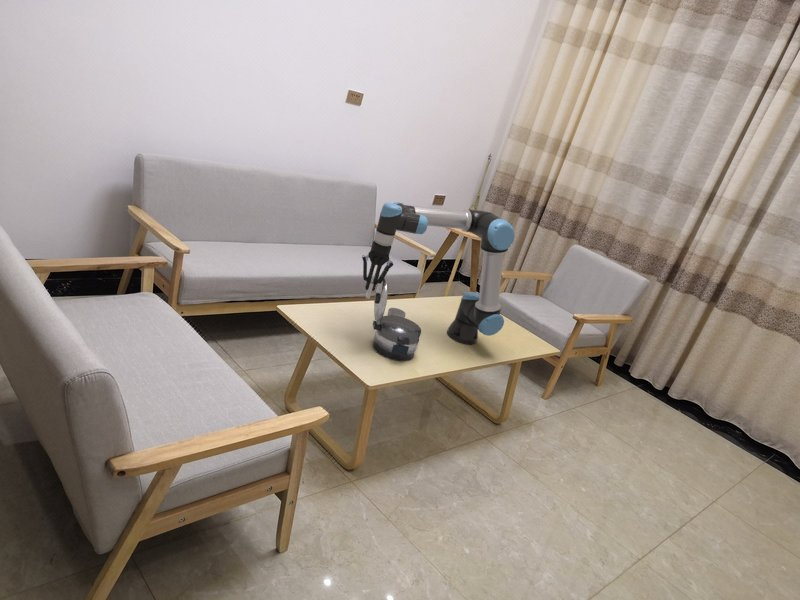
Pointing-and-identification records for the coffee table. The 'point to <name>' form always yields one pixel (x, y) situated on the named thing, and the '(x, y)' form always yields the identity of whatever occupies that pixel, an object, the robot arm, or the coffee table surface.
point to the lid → (380, 300)
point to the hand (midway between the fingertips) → (367, 297)
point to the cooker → (396, 338)
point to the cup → (396, 312)
